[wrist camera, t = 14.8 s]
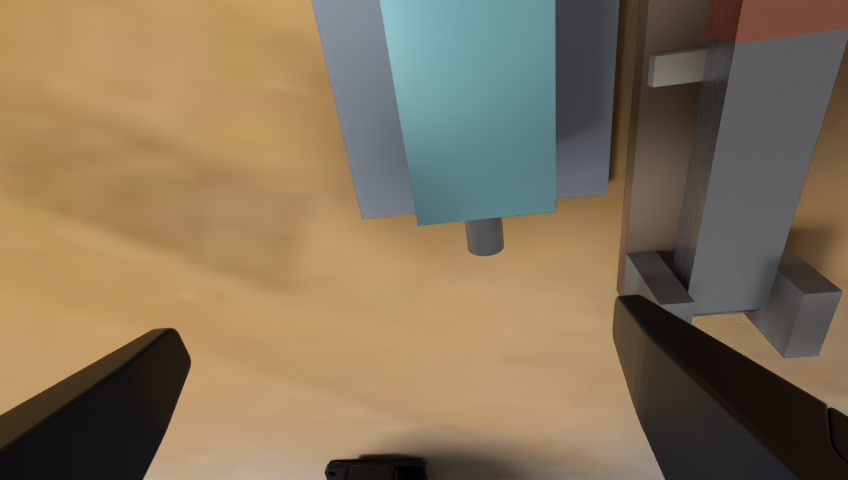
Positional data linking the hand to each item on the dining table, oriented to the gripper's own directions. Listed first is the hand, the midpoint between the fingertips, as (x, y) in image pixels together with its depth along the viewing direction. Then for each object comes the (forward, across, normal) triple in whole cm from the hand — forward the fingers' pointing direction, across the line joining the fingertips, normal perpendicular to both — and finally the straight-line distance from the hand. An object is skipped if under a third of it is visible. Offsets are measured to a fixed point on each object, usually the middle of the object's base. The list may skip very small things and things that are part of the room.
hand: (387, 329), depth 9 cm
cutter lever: (+9, -11, 0) cm, 14 cm away
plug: (+10, -2, -1) cm, 10 cm away
